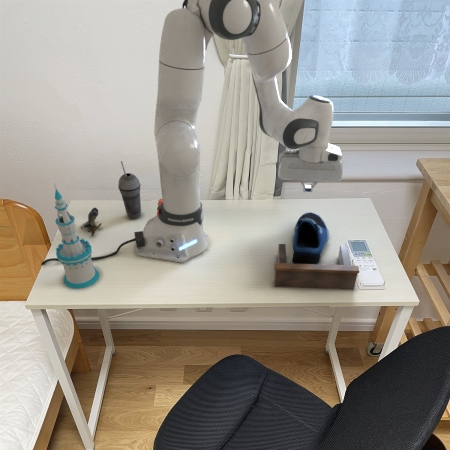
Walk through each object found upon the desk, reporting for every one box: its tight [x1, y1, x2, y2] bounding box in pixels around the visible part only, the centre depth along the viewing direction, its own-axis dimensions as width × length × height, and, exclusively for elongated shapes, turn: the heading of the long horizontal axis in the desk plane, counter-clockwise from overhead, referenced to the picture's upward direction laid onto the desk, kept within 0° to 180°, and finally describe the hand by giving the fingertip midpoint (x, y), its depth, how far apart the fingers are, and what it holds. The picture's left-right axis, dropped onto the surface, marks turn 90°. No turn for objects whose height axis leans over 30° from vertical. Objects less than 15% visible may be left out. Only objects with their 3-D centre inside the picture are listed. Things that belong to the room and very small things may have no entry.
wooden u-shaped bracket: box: [274, 243, 360, 291], centre depth 131 cm, size 23×14×7 cm, turn 86°
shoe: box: [291, 211, 330, 264], centre depth 138 cm, size 11×30×12 cm, turn 168°
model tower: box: [53, 183, 100, 290], centre depth 123 cm, size 10×10×30 cm
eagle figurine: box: [80, 207, 102, 237], centre depth 150 cm, size 8×7×9 cm
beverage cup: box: [117, 160, 142, 221], centre depth 151 cm, size 7×7×20 cm
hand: (307, 191), depth 151 cm, fingers closed
